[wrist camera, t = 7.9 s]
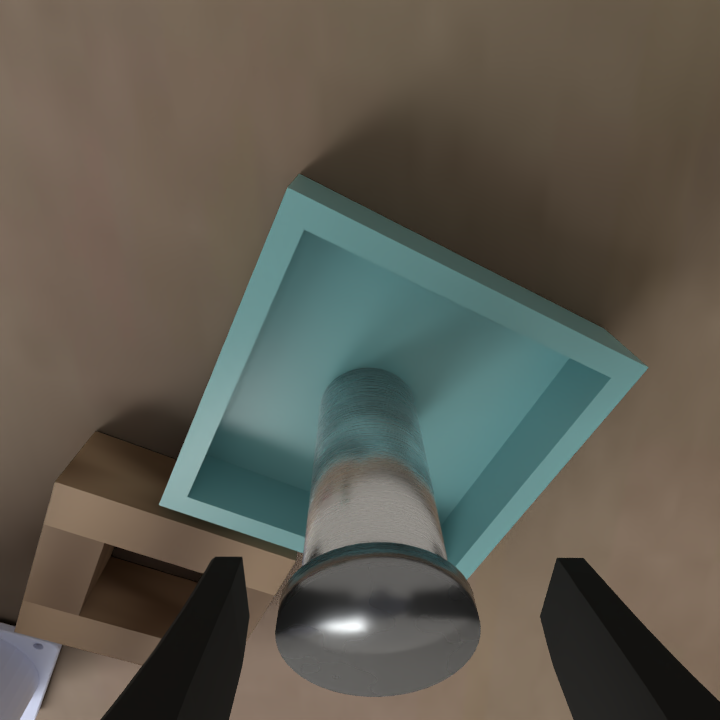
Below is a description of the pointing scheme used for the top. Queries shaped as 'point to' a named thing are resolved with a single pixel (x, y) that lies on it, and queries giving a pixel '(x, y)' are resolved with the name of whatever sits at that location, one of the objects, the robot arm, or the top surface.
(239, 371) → the tray
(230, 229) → the top surface
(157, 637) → the hole block
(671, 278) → the top surface
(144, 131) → the top surface
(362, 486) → the steel pin
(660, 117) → the top surface
